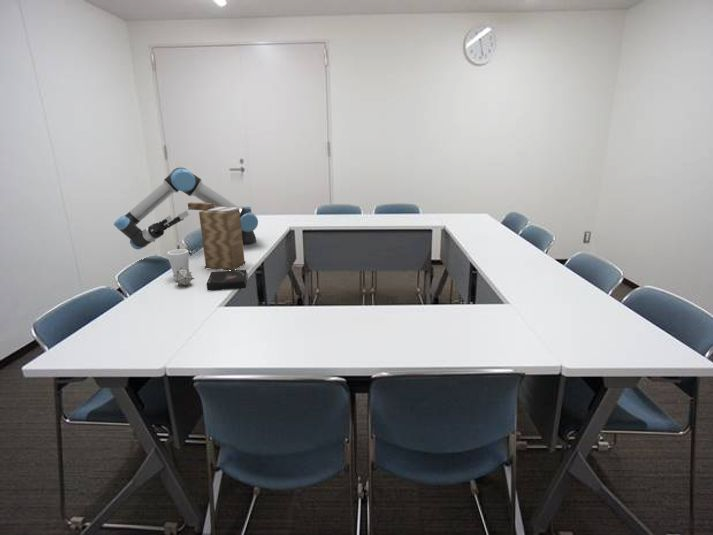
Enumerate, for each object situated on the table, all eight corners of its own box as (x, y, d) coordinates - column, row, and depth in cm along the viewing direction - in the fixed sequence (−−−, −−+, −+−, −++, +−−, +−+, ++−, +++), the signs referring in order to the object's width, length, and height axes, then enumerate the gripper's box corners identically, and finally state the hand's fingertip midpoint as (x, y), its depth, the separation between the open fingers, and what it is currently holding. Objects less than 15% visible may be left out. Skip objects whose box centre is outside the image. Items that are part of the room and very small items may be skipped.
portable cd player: (246, 289, 185) (245, 280, 184) (207, 291, 181) (206, 283, 180) (247, 277, 200) (247, 269, 199) (212, 279, 197) (211, 271, 195)
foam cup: (184, 281, 193) (180, 255, 189) (167, 279, 195) (163, 254, 191) (195, 274, 202) (192, 249, 198) (179, 273, 204) (175, 248, 199)
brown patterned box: (204, 268, 211) (197, 212, 201) (218, 261, 223) (212, 207, 213) (233, 270, 207) (227, 213, 198) (245, 263, 219) (240, 209, 209)
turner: (184, 210, 204) (183, 204, 203) (196, 207, 214) (195, 201, 212) (228, 213, 199) (228, 206, 198) (238, 209, 208) (238, 203, 207)
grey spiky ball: (183, 291, 190) (177, 272, 192) (199, 285, 190) (193, 266, 192) (172, 289, 181) (167, 269, 183) (189, 282, 181) (184, 262, 183)
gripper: (172, 232, 231) (198, 216, 223) (141, 244, 208) (168, 226, 200) (165, 221, 229) (190, 204, 222) (132, 231, 207) (160, 212, 199)
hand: (180, 214), depth 211 cm, fingers open, 13 cm apart
